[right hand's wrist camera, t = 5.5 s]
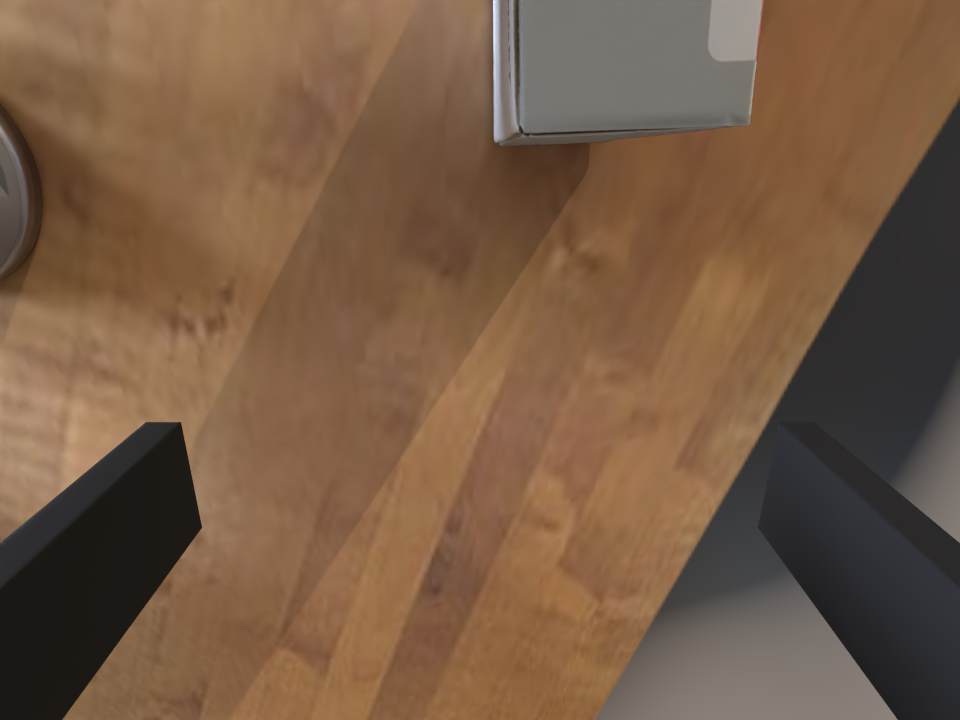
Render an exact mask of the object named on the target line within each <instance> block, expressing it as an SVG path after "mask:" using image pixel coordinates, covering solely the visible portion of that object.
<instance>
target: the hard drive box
mask: <svg viewBox="0 0 960 720" xmlns="http://www.w3.org/2000/svg"><path fill="white" fill-rule="evenodd" d="M763 7H764V0H493V45H494V141H495V142H496V143H499V145H500V146H526V145H551V144H572V143H592V142H606V141H612V140H618V139H627V138H637V137H648V136H658V135H667V134H676V133H685V132H694V131H702V130H709V129H716V128H724V127H731V126H748V125H749V124H750V117H751V107H752V97H753V88H754V78H755V70H756V64H757V58H758V51H759V42H760V33H761V24H762V16H763Z"/></svg>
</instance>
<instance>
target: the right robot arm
mask: <svg viewBox="0 0 960 720" xmlns="http://www.w3.org/2000/svg"><path fill="white" fill-rule="evenodd" d="M41 219H42V191H41V185H40V179H39V175H38V171H37V168H36V165H35V162H34V159H33V156H32V154H31V152H30V149H29V147H28V145H27V143H26V141H25V139H24V137H23V135H22V134H21V132H20V130H19V129H18V127H17V126H16V124H15V122H14V121H13V120H12V118H11V117H10V116H9V114H8V113H7V112H6V110H5V109H4V108H3V107H2V106H1V104H0V280H1V279H3V278H5V277H6V276H8V275H10V274H11V273H12V272H13V271H15V270H16V269H17V268H18V267H19V266H20V265H21V264H22V263H23V262H24V260H25V259H26V258H27V256H28V255H29V254H30V252H31V250H32V248H33V246H34V244H35V242H36V239H37V237H38V233H39V230H40V226H41ZM201 528H202V525H201V520H200V515H199V510H198V505H197V500H196V495H195V490H194V485H193V480H192V475H191V470H190V465H189V460H188V455H187V450H186V445H185V440H184V435H183V430H182V425H181V422H146V423H145V424H143V425H142V426H141V427H140V428H139V429H137V430H136V431H135V432H134V433H133V434H131V435H130V436H129V437H128V438H127V439H125V440H124V441H123V442H122V443H121V444H119V445H118V446H117V447H116V448H115V449H113V450H112V451H111V452H110V453H109V454H107V455H106V456H105V457H104V458H102V459H101V460H100V461H99V462H98V463H96V464H95V465H94V466H93V467H92V468H90V469H89V470H88V471H87V472H86V473H84V474H83V475H82V476H81V477H80V478H78V479H77V480H76V481H75V482H74V483H72V484H71V485H70V486H69V487H68V488H66V489H65V490H64V491H63V492H61V493H60V494H59V495H58V496H57V497H55V498H54V499H53V500H52V501H51V502H49V503H48V504H47V505H46V506H45V507H43V508H42V509H41V510H40V511H39V512H37V513H36V514H35V515H34V516H33V517H31V518H30V519H29V520H28V521H27V522H25V523H24V524H23V525H22V526H20V527H19V528H18V529H17V530H16V531H14V532H13V533H12V534H11V535H10V536H8V537H7V538H6V539H5V540H4V541H2V542H1V543H0V720H62V719H63V718H64V716H65V715H66V714H67V712H68V711H69V710H70V708H71V707H72V705H73V704H74V703H75V701H76V700H77V699H78V697H79V696H80V694H81V693H82V692H83V690H84V689H85V688H86V686H87V685H88V683H89V682H90V681H91V679H92V678H93V677H94V675H95V674H96V672H97V671H98V670H99V668H100V667H101V666H102V664H103V663H104V661H105V660H106V659H107V657H108V656H109V655H110V653H111V652H112V650H113V649H114V648H115V646H116V645H117V644H118V642H119V641H120V639H121V638H122V637H123V635H124V634H125V633H126V631H127V630H128V628H129V627H130V626H131V624H132V623H133V622H134V620H135V619H136V617H137V616H138V615H139V613H140V612H141V611H142V609H143V608H144V606H145V605H146V604H147V602H148V601H149V600H150V598H151V597H152V595H153V594H154V593H155V591H156V590H157V589H158V587H159V586H160V584H161V583H162V582H163V580H164V579H165V578H166V576H167V575H168V573H169V572H170V571H171V569H172V568H173V567H174V565H175V564H176V562H177V561H178V560H179V558H180V557H181V556H182V554H183V553H184V552H185V550H186V549H187V547H188V546H189V545H190V543H191V542H192V541H193V539H194V538H195V536H196V535H197V534H198V532H199V531H200V530H201ZM758 528H759V530H760V531H761V532H762V534H763V535H764V536H765V538H766V539H767V541H768V542H769V543H770V545H771V546H772V547H773V549H774V550H775V551H776V553H777V554H778V556H779V557H780V558H781V560H782V561H783V562H784V564H785V565H786V567H787V568H788V569H789V571H790V572H791V573H792V575H793V576H794V578H795V579H796V580H797V582H798V583H799V584H800V586H801V587H802V589H803V590H804V591H805V593H806V594H807V595H808V597H809V598H810V600H811V601H812V602H813V604H814V605H815V606H816V608H817V609H818V611H819V612H820V613H821V615H822V616H823V617H824V619H825V620H826V622H827V623H828V624H829V626H830V627H831V628H832V630H833V631H834V633H835V634H836V635H837V637H838V638H839V639H840V641H841V642H842V644H843V645H844V646H845V648H846V649H847V650H848V652H849V653H850V655H851V656H852V657H853V659H854V660H855V661H856V663H857V664H858V666H859V667H860V668H861V670H862V671H863V672H864V674H865V675H866V677H867V678H868V679H869V681H870V682H871V683H872V685H873V686H874V688H875V689H876V690H877V692H878V693H879V694H880V696H881V697H882V699H883V700H884V701H885V703H886V704H887V705H888V707H889V708H890V710H891V711H892V712H893V714H894V715H895V716H896V718H897V719H898V720H960V543H959V542H958V541H956V540H955V539H954V538H953V537H952V536H950V535H949V534H948V533H947V532H946V531H944V530H943V529H942V528H941V527H940V526H938V525H937V524H936V523H935V522H933V521H932V520H931V519H930V518H929V517H927V516H926V515H925V514H924V513H922V512H921V511H920V510H919V509H918V508H917V507H915V506H914V505H913V504H912V503H911V502H909V501H908V500H907V499H906V498H905V497H903V496H902V495H901V494H900V493H899V492H897V491H896V490H895V489H894V488H892V487H891V486H890V485H889V484H888V483H886V482H885V481H884V480H883V479H882V478H880V477H879V476H878V475H877V474H876V473H874V472H873V471H872V470H871V469H870V468H868V467H867V466H866V465H865V464H864V463H862V462H861V461H860V460H859V459H857V458H856V457H855V456H854V455H853V454H851V453H850V452H849V451H848V450H847V449H845V448H844V447H843V446H842V445H841V444H839V443H838V442H837V441H836V440H835V439H833V438H832V437H831V436H830V435H829V434H827V433H826V432H825V431H824V430H823V429H821V428H820V427H819V426H818V425H817V424H815V423H814V422H780V423H779V425H778V430H777V435H776V440H775V445H774V450H773V455H772V460H771V465H770V470H769V475H768V480H767V485H766V490H765V496H764V500H763V505H762V510H761V515H760V520H759V525H758Z"/></svg>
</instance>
